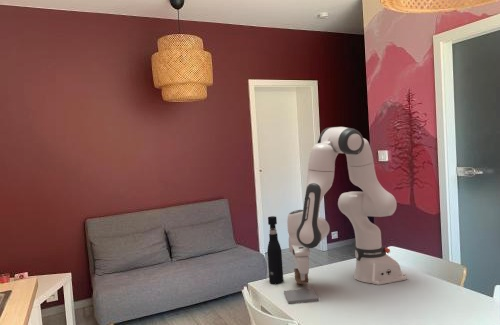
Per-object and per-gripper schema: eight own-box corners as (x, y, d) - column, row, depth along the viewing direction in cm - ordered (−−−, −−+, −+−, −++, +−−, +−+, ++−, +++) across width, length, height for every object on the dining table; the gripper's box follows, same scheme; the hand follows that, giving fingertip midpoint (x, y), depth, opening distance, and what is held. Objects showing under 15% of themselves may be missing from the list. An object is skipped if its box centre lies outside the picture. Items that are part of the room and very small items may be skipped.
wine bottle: (283, 279, 176) (279, 215, 175) (283, 284, 170) (279, 218, 169) (269, 279, 177) (265, 216, 176) (269, 284, 171) (264, 218, 170)
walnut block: (306, 278, 170) (305, 267, 170) (308, 282, 165) (307, 271, 165) (295, 279, 170) (294, 268, 170) (297, 283, 165) (296, 272, 165)
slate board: (311, 290, 160) (311, 288, 160) (318, 301, 149) (318, 298, 149) (283, 293, 159) (283, 290, 159) (288, 304, 148) (288, 301, 148)
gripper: (288, 241, 177) (291, 270, 178) (295, 254, 157) (298, 286, 158) (302, 239, 177) (304, 268, 178) (310, 252, 157) (313, 285, 158)
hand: (301, 277), depth 168 cm, fingers closed on walnut block, 5 cm apart
